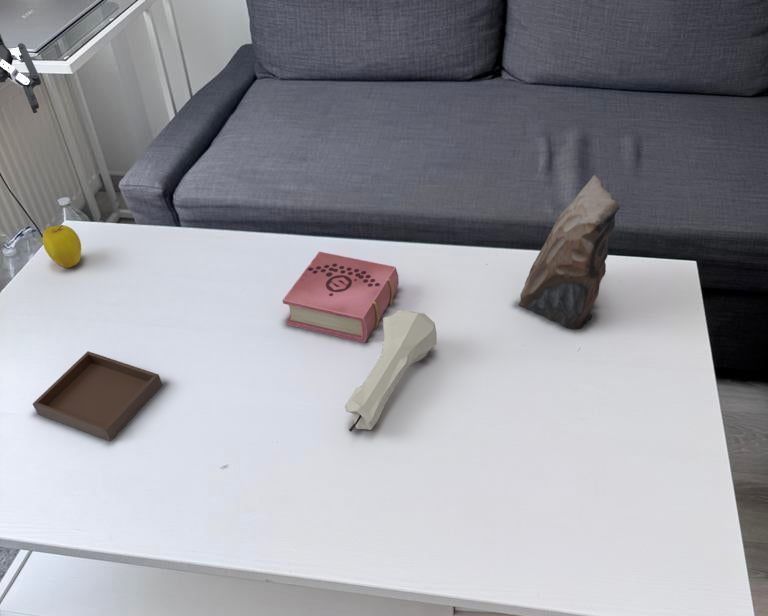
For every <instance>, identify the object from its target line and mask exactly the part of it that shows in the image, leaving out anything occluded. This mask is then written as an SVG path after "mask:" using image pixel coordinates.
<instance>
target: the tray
mask: <svg viewBox="0 0 768 616" xmlns="http://www.w3.org/2000/svg"><path fill="white" fill-rule="evenodd" d="M162 387H163V382H162V379H161V376H160V375H159V373H156V372H153V371H149V370H147V369H144V368H140V367H137V366H134V365H131V364H128V363H125V362H122V361H118V360H116V359H113V358H110V357H107V356H104V355H101V354H98V353H95V352H93V351H92V352H91V351H88V350H87V351H86V352H85V353H84V354H83V355H82V356H81V357H80V358H79V359H78V360H76V362H74V363H73V364H72V365H71V367H69V368H68V369H67V370H66V371H65V372H64V373H63V374H62V375H61V376H60V377H59V378H58V379H57V380H56V381H55V382H53V383H52V384H51V385H50V386H49V387H48V388H47V389H46V390H44V392H43V393H42V394H41V395H40V396H39V397H38V398H37V399H36V400H35V401H34V402H33V403H32V406H33V408H34V409H35V411H36V414H38V415H39V416H42V417H44V418H47V419H50V420H53V421H55V422H58V423H61V424H62V425H66V426H68V427H71V428H74V429H77V430H79V431H82V432H84V433H88V434H90V435H93V436H95V437H98V438H101V439H103V440H106V441H109V442H112V440H113V439H114V438H115V437H116V436H117V435H118V434H119V433H120V432H121V431H122V430H123V429H124V427H126V425H128V423H130V421H131V420H132V419H133V418H134V417H135V416H136V415H137V414H138V412H139V411H140V410H141V409H142V408H144V406H145V405H146V404H147V403H148V402H149V401H150V399H152V397H153V396H155V394H156V393H157V392H158V391H159V390H160V389H161V388H162Z"/></svg>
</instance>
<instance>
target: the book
mask: <svg viewBox="0 0 768 616" xmlns="http://www.w3.org/2000/svg"><path fill="white" fill-rule="evenodd" d="M398 287H399V273H398V271H397V266H394V265H389V264H384V263H379V262H374V261H369V260H363V259H359V258H354V257H350V256H344V255H340V254H334V253H330V252H325V251H318V252H317V253H316V254H315V256H314V257H313V259H312V260H311V261H310V263H309V264H308V266H307V267H305V269H304V271H303V272H302V273H301V274H300V276H299V277H298V279H296V281H295V283H293V285H292V286H291V288H290V289H289V290H288V292H287V293H286V294H285V296H284V297H283V298H282V305H287V306H288V307H289V313H290V315H289V317H288V318H287V320H285V321H286V325H288V326H292V327H296V328H299V329H303V330H304V329H305V330H309V331H313V332H317V333H321V334H326V335H331V336H335V337H339V338H343V339H348V340H352V341H357V342H360V343H365V344H366V342H367V340H368V339H369V337H370V335H371V334H372V332H373V330H374V329H377V328H378V325H379V323H380V319H381V317H382V316H383V314H384V312H385V310H387V308H388V306H392V304H393V299H394V296H395V295H396V293H397V291H398Z"/></svg>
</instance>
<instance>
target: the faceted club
mask: <svg viewBox="0 0 768 616" xmlns="http://www.w3.org/2000/svg"><path fill="white" fill-rule="evenodd" d="M382 322H383V323H382V324H383V336H384V339H383V343H382V351H381V355H380V357H379V358H378V360H377V361H376V363H375V364H374V366H373V368H372V369H371V371H370V373H369V374H368V376H367V377H366V379H365V380H364V382H363V383H362V385H360V386H357V387H356V388H355V389H354V391H353V393H352V394H351V396H349V398H348V400H347V402H346V403H345V405H344V409H345V412H347V413H351V414H352V418H353V422H354V423H353V424H352V426H351V427H350V428H348V431H349V432H353V430H354V428H355V429H356V430H370V431H371V430H372V429H373V428H374V427H375V425H376V424H378V421H379V419H380V417H381V415H382V412H383V410H384V407H385V406H386V404H387V401H388V400H389V398H390V397H391V395H392V393H393V391H394V390H395V389H396V387H397V385H398V383H399V382H400V380H401V379H402V377H403V376H404V374H405V372H406V370H407V369H408V368H409V367H410V366H411V364H414V363H417V362H419V361H421V360H423V359H424V358H425V357H427V355H428V353H429V351H431V350H432V349H433V348H434V347H435V346H436V345H438V338H437V337H438V335H437V328H436V323H435V321H434V320H433V319H431V318H430V317H429V316H428V315H427V314H425V312H419V311H414V310H397V311H396V312H395V313H394V314H390V315H388V316H387V315H386V316H385V317H383V318H382Z"/></svg>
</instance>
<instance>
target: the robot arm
mask: <svg viewBox="0 0 768 616" xmlns="http://www.w3.org/2000/svg"><path fill="white" fill-rule="evenodd" d="M14 59H17V61H18V62H19V63H24V65H25V67H26V69H27V71H28V74H29V75H28V76H27V77H26V75H24V74H22V73H21V72H20V71H19V70H18V69H17V68H16V67H14V65H13V61H14ZM7 79H8V80H9V81H11V82H13V83H14V84H15V85H17V86H19V87H21V88H22V89H23V91H24V94H25V96H26V99H27V101H28V104H29V106H30V109H31V111H32V113H33V114H36V113H38V110H37V109H40V104H39V102H38V99H37V97H36V94H35V92H34V88H35V87H36V86H40V85H41V84H42V80H41V78H40V75H39V72H38V70H37V68H36V65H35V64H34V62H33V59H32V58H31V55H30V53H29V52H28V48H27V47H26V45H25V44H24V43H22V42H20V43H18V44H17V47H14V48H11V49H9V47H7V46H6V45H5V41H4V40H3V37H2V34H1V33H0V84H1V83H6V80H7Z"/></svg>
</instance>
